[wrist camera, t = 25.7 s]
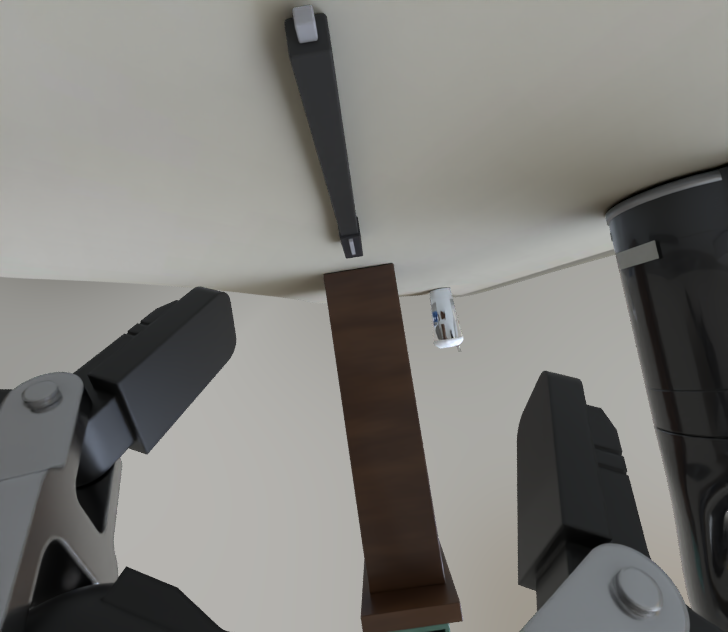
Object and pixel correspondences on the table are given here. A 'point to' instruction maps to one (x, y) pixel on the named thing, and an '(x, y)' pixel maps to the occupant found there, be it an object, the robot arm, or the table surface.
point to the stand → (387, 457)
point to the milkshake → (445, 319)
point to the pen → (324, 115)
